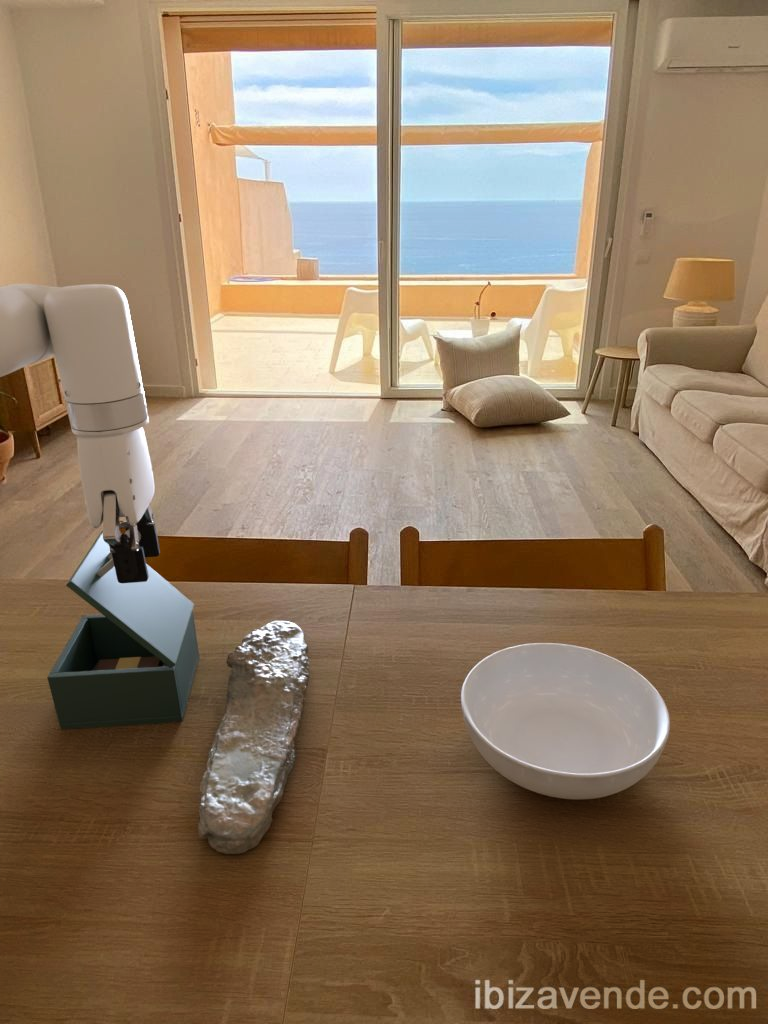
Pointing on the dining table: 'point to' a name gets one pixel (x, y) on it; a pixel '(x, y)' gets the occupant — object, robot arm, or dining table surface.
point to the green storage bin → (118, 679)
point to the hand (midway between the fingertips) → (139, 566)
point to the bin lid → (134, 602)
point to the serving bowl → (564, 719)
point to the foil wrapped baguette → (254, 737)
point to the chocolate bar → (128, 663)
